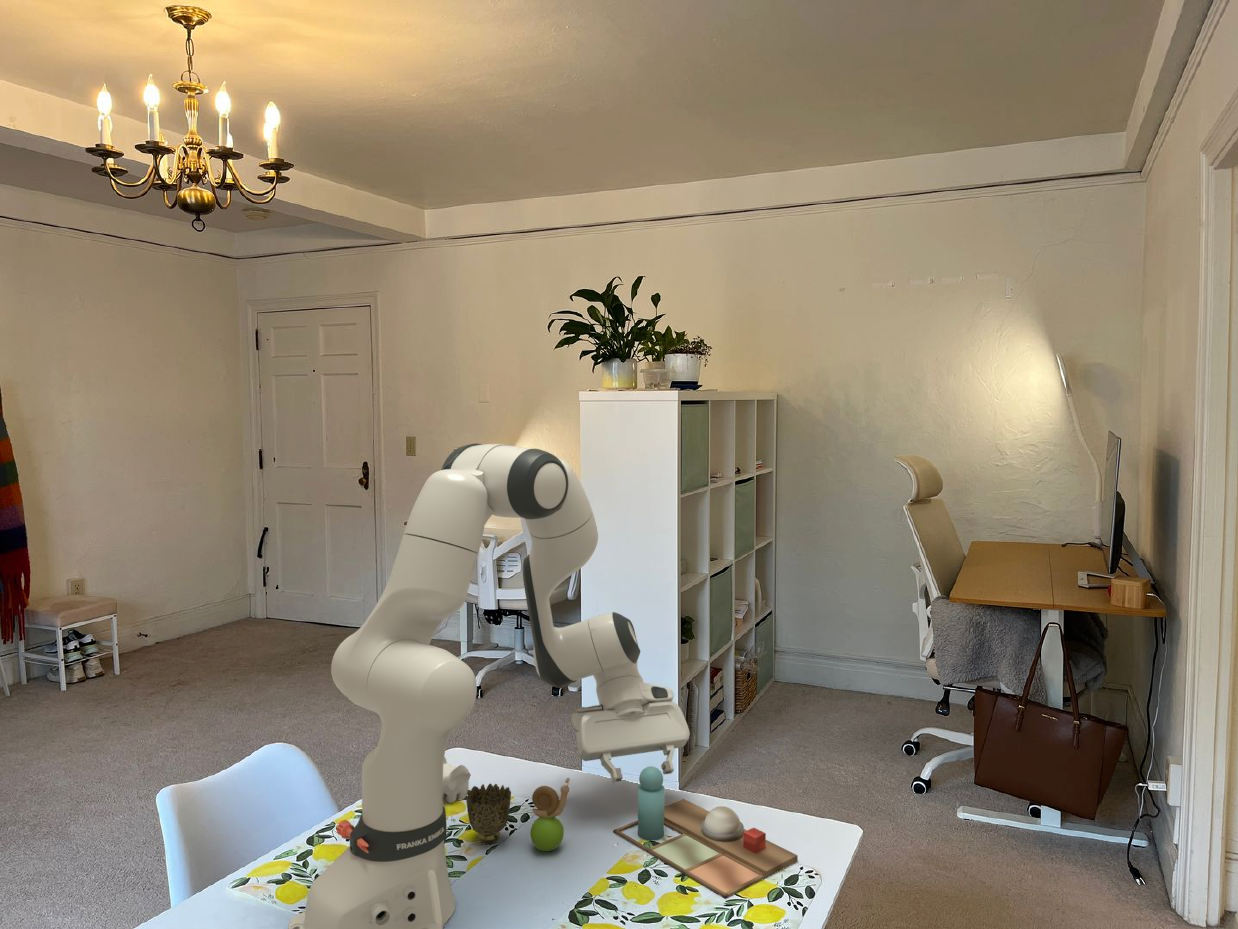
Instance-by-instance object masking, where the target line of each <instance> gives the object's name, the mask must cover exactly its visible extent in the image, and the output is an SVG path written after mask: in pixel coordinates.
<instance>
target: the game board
mask: <svg viewBox="0 0 1238 929" xmlns="http://www.w3.org/2000/svg"><path fill="white" fill-rule="evenodd" d="M634 826H635V827H636V826H638V819H637V820H635V821H631V822H630V823H627V824H625V825H622V826H620V827H617V828H615V829H612V833H613V834H615V835H617V836H619V837H621V838H622V839H623V840H625V841H627V842H629V843H630V844H632V845H634V846H636V847H637V848H639V849H641V850H642V851H644V852H646V853H647V854H650V855H651V856H653V857H654V858H656V859H658V860H659V861H661V862H663V863H664V864H666V865H668V866H669V867H671V868H673V869H674V870H676V871H678V872H680V873H682V874H683V875H684V876H686V877H687V878H690V879H691V880H693V881H694V882H696V883H698V884H700V885H701V886H703V887H705V888H707V889H708V890H710V891H711V892H713V893H715V894H717V895H718V896H720V897H722V898H723V899H729V898H730V897H732V896H733V895H735V894H737V893H739V892H742V891H743V890H745V889H747V888H749V887H750V886H753V885H755V884H757V883H759V882H761V881H762V880H764V878H765V879H766V877H767V878H769V877H770V876H772V875H774V874H776V873H778V872H780V871H783V870H784V869H786V868H788V867H789V866H788V865H790V866H791V865H793V863H794V864H795V863H797V862H798V860H799V859H798V854H796V853H794V852H791V851H790V850H787V849H786V848H783V846H780V845H777V844H776V843H774V842H771V841H770V840H768V839H766V838H767V837H766V836H767V834H766V832H764V831H762V830H760V829H757V828H756V827H752V828H749V829H748V830H747V829H745V826H744V824H743V823H742V822H741V820H740V818H739V816H738V814H737V812H735V811H734V810H733V809H732V808H731V807H728V806H721V805H720V806H716V807H714V808H712V809H711V810H710V811H709V810H707V809H705V808H703V807H701V806H699V805H697V804H695V803H693V802H691V801H689V800H687V799H685V798H682V799H680V800H676V801H674V802H672V803H669V804H667V805H664V827H667V828H669V829H671V830H673V831H674V832H677V834H679V835H677V836H675V837H672V838H669V839H667V840H664V841H663V842H660V843H657V844H656V845H655V844H654V845H653V846H650V847H648V846H646V845H644V844H642V843H641V842H639V841H637V840H636V839H634V838H632V837H631V836H629V835H628V834H626V833H624V832H623V831H625V830H628V829H630V828H633V827H634ZM787 866H788V867H787ZM785 867H786V868H785ZM783 868H784V869H783ZM777 871H778V872H777ZM775 872H776V873H775Z"/></svg>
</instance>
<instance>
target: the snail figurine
mask: <svg viewBox="0 0 1238 929" xmlns="http://www.w3.org/2000/svg"><path fill="white" fill-rule="evenodd" d="M565 783H566V784H564V785H562V786H560V797H559V795H558V792H557V791H556V790H555V789H554V788H553V787H551V786H548V785H540V786H538V787H537V788H536V789H534V791H533V792H532V796H531V797H532V798H531V799H532V804H533V806H534V807H535V808H534V807H533V808H531V811H532V813H534V814H535V816H537V818H536V819H535V820H533V823H532V824H531V827H530V830H529V831H530V833H529V834H530V839H531V842H532V845H534V846H535V848H537V849H538V850H540V851H543V852H550V851H553V850H554V851H555V849H557V848H558V847H559V846H560V845H561V843H562V841H563V839H564V836H565V830H564V825H563V823H562V821H560V819H559V818H558V816H560V815H561V814H562V813H563V811H564V810H565V808H566V804H567V800H568V796H569V793H570V787H569V783H570V777H567V778H566V779H565Z"/></svg>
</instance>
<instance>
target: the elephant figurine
mask: <svg viewBox="0 0 1238 929" xmlns="http://www.w3.org/2000/svg"><path fill="white" fill-rule="evenodd" d="M471 775H472V774H471V772H470V770H469V769H468V767H466V766H465V765H463V764H459V765H458V766H455V765H452V764H449V763H448V762H447V758H446V757H445V756H444V764H443V798H444V797H446V802H448V803H450V804H452V803H455V802H456V801H457V800H460V801H461V800H464V799H466V796H467V795H468V794H467V791H468V790H469V787H470V786H469V785H470V784H469V783H470V782H469V780H470V778H471Z"/></svg>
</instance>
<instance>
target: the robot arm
mask: <svg viewBox="0 0 1238 929" xmlns="http://www.w3.org/2000/svg"><path fill="white" fill-rule="evenodd" d="M584 489H585V488H584V487H583V485H582V483H581V481H580V479H579V477H578V476H577V474H576V473H575V470H574V469H573V467H572V465H570V464H569V462H568V461H567V460H565V459H562V458H561V457H557V456H555V455H554V454H552V453H550V452H549V451H545V450H542V449H539V448H526V447H521V446H516V445H512V444H506V443H485V444H482V443H470V444H465V445H462V446H460V447H457V448H455V449H454V450H453V451H451V453H450V454H448V456H447V457H446V459H445V461H444V462H443V464H442V466H441V469H440V470H438V471H435V472H433V473H432V474H431V475H429V477H427V479H426V480H425V483H424V485H423V487H422V488H421V490H420V492H419V494H418V496H417V498H416V500H415V503H414V505H413V507H412V508H411V509H412V510H411V512H410V514H409V517H408V520H407V522H406V524H405V525H406V526H405V527H404V531H403V535H402V537H401V541H400V544H399V547H398V551H397V554H396V556H395V560H394V563H393V566H392V569H391V572H390V575H389V578H388V581H387V584H386V586H385V588H384V590H383V592H382V594H381V596H380V598H379V600H378V601H377V603H376V604H375V606H374V608H373V609H372V611H371V613H370V614H369V615H368V617H367V618H366V619H365V621H364V623H363V624H362V625H361V627H359V628H358V629H357V630H356V631H355V632H354V633H352V634H350V635H349V636H348V637H346V638H345V639H344V640H343V641H342V642H341V643H339V645H338V647H337V648H336V650H335V652H334V653H333V654H334V655H333V657H332V660H331V665H330V673H331V679H332V681H333V683H334V685H335V686H336V688H337V689H339V691H340V692H341V693H342V694H343V695H344V696H345V697H346V698H347V699H349V701H351V703H353V704H355V705H356V706H359V707H361V708H364V709H366V710H369V711H371V712H373V713H375V714H377V715H378V716H379V718H380V723H381V729H380V730H381V731H380V736H379V739H378V743H377V746H376V747H375V748H373V749H372V750H371V751H369V753H368V754H367V756H366V757H365V758H364V759H363V762H362V765H361V803H362V806H361V807H362V808H361V810H362V811H361V812H362V813H361V815H360V817H359V819H358V821H357V824H356V825H353V824H351V822H350V821H349V820H347V819H344V820H340V821H339V822H338V823H337V825H336V829H335V830H336V833H337V834H338V835H339V836H341V838H342V839H344V840H348V839H349V846H348V847H347V848H346V849H345V850H344V851H343V852H342V853H341V854H340V855H339V856H338V857H337V858H336V859H335V860H334V861H333V862H332V863H331V864H330V865H329V866H328V867H327V868H326V869H325V870H324V871H322V872H321V874H320V875H319V876H318V877H316V878H315V879H314V881H313V882H312V883H311V885H310V887H309V890H308V894H307V897H306V898H307V899H306V902H305V910H304V911H302V912H300V913H299V914H296V915H295V916H293V917H292V918H291V919H290V920H289V924H288V927H287V928H288V929H444V926H445V925H446V924H447V922H448V921H449V919H450V918H451V917H452V915H453V914H454V911H455V909H456V903H457V902H456V899H455V896H454V893H453V889H452V885H451V882H450V878H449V871H448V866H447V858H446V848H445V844H446V843H447V842H446V841H447V811H446V809H447V808H446V807H445V805H444V799H443V798H444V797H443V764H444V757H445V756H446V755H445V754H446V750H447V746H448V743H449V740H450V737H451V735H452V733H453V731H454V730H455V729H456V728H457V727H459V726H460V725H461V724H462V723H464V721H465V720H466V719H467V717H468V716H469V715H470V713H471V711H472V709H473V708H474V705H475V702H476V698H477V690H478V688H477V680H476V676H475V674H474V671H473V670H472V668H471V667H470V666H469V665H468V664H467V663H465V662H464V661H463V660H462V659H460V658H459V657H457V655H454V654H453V653H452V652H450V651H448V650H446V649H444V648H440V647H438V646H434V645H431V644H430V643H431V641H432V639H433V637H434V636H435V634H436V632H437V630H438V629H439V627H440V626H441V625H442V623H443V622H445V620H446V619H448V618H449V617H450V616H452V615H454V614H456V613H457V612H459V611H460V609H462V608H463V606H464V604H465V602H466V600H467V595H468V592H469V588H470V584H471V580H472V578H473V574H474V570H475V568H476V563H477V561H478V560H477V559H478V556H479V553H480V549H481V545H482V541H483V537H484V532H485V526H486V524H487V523H488V521H489V519H490V518H492V516H496V517H499V518H500V517H502V518H511V519H512V518H513V519H514V518H517V519H519V518H520V519H521V518H523V519H524V521H525V524H526V527H527V530H528V532H529V534H530V538H531V545H530V546H531V548H530V552H529V553H528V555H526V557H524V558H523V561H522V579H523V580H522V581H523V586H524V587H523V588H524V594H525V599H526V600H525V601H526V607H527V612H528V617H529V623H530V628H531V635H532V641H533V651H532V652H533V654H532V655H533V663H534V667H535V670H536V673H537V675H538V677H539V678H540V680H541V681H542V682H544V683H545V684H547V685H549V686H551V687H554V688H558V689H561V688H564V687H566V686H568V685H571V684H573V683H575V682H577V681H579V680H582V679H586V678H588V677H593V678H594V680H595V684H596V688H595V690H596V695H597V700H598V704H597V705H596V704H595V705H591V706H587V707H585V706H581V707H578V708H577V709H576V710H574V711H573V712H572V714H571V716H570V721H571V725H572V728H573V730H574V731H575V734H576V735H575V736H576V746H577V753H578V757H579V758H580V759H581V760H582V761H583V762H589V761H596V760H600V765H601V766H602V767H603V768H604V769H605V770H606V772H607V773H608V774H610V778H611V783H617V782H622V780H623V774H622V768H621V767H616V766H615V765H614V763H612V761H611V760H612V759H613V758H618V757H623V756H630V755H631V756H632V755H638V754H644V753H651V752H659V751H661V752H662V753H663V755H664V756H666V758H665V760H664V761H663V762H662V763H661V765H660V767H661V770H662V775H670V774H673V773H674V769H675V768H674V765H673V757H674V754H675V749H681V748H683V747H685V746H686V744H687V743H688V741H689V739H690V735H691V732H690V729H689V725H688V723H687V720H686V718H685V715H684V713H683V711H682V708H680V706H679V704H677V703H676V702H674V700H673V699H674V697H675V696H674V692H673V690H672V689H671V688H669V687H665V686H660V685H655V684H650V683H647V682H644V679H643V677H642V676H641V674H640V672H639V669H638V660H639V657H640V654H641V649H640V647H639V643H638V639H637V636H636V632H635V627H634V625H633V623H632V621H631V620H630V618H627V617H625V616H624V615H622V614H621V613H619V612H615V611H613V612H606V613H603V614H599V615H597V616H594V617H590V618H588V619H585V620H582V621H578V622H576V623H573V624H570V625H566V626H561V627H556V626H554V622H553V616H552V615H553V614H552V608H551V603H550V598H551V595H552V593H553V591H554V590H555V589H556V588H557V587H558V586H559V585H560V584H562V583H563V582H564V581H566V579H568V578H569V577H571V576H573V574H575V573H576V572H578V571H579V570H581V569H582V568H583V567H584V566H585V565H586V564H587V563H588V562H589V560H590V559H591V557H592V556H593V555H594V553H595V551H596V548H597V545H598V541H599V534H598V532H599V531H598V526H597V522H596V518H595V515H594V512H593V509H592V506H591V504H590V501H589V499H588V495H587V494H586V492H585V490H584Z"/></svg>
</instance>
